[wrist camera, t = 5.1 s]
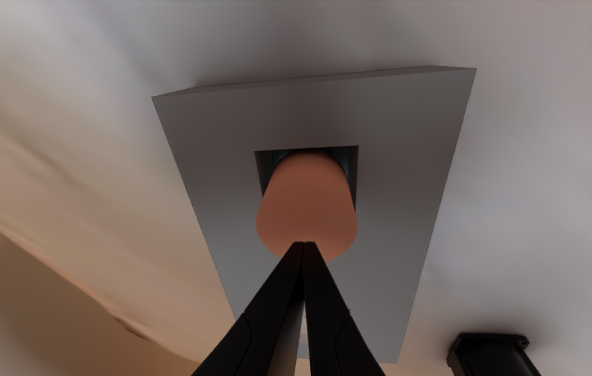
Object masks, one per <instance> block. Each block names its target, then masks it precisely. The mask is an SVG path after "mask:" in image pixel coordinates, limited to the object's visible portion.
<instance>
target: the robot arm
mask: <svg viewBox="0 0 592 376" xmlns="http://www.w3.org/2000/svg"><path fill="white" fill-rule="evenodd" d="M304 303H305V312H306V324H307V336H308V347H309V359H310V370H311V376H386V375H385V374H384V372H383V370H382V369H381V367H380V366H379V364H378V363H377V361H376V359H375V358H374V356H373V354H372V353H371V351H370V349H369V348H368V346H367V344H366V342H365V341H364V339H363V337H362V335H361V333H360V331H359V329H358V327H357V325H356V323H355V321H354V319H353V317H352V316H351V314H350V311H349V309H348V307H347V305H346V303H345V301H344V299H343V297H342V295H341V293H340V291H339V289H338V287H337V285H336V283H335V281H334V279H333V277H332V275H331V273H330V271H329V269H328V267H327V265H326V263H325V261H324V259H323V257H322V255H321V253H320V251H319V248H318V246H317V244H316V243H315V242H314V241H306V242H305V243H304V242H303V241H295V242H293V243H292V245H291V246H290V247H289V249H288V250H287V252H286V253H285V254H284V256H283V257H282V258H281V260H280V261H279V263H278V264H277V265H276V267H275V268H274V270H273V271H272V272H271V274H270V275H269V277H268V278H267V279H266V281H265V282H264V283H263V285H262V286H261V288H260V289H259V290H258V292H257V293H256V295H255V296H254V297H253V299H252V300H251V301H250V303H249V304H248V306H247V307H246V308H245V310H244V312H243V313H242V314H241V315H240V316H239V318H238V319H237V321H236V322H235V323H234V325H233V326H232V327H231V329H230V330H229V331H228V333H227V334H226V335H225V337H224V338H223V339H222V340H221V341H220V342H219V344H218V345H217V346H216V347H215V348H214V350H213V351H212V352H211V353H210V354H209V355H208V357H207V358H206V359H205V360H204V361H203V362H202V363H201V365H200V366H199V367H198V368H197V369H196V370H195V371H194V373H193V374H192V375H191V376H294V373H295V366H296V359H297V352H298V345H299V338H300V331H301V324H302V317H303V310H304ZM529 343H530V342H529V340H528V339H527V338H526V337H524V336H503V335H477V334H462V335H460V336H459V337H458V339H457V341H456V343H455V345H454V347H453V349H452V351H451V353H450V355H449V358H448V360H447V365H448V367H450V368H451V369H452V371H453V374H454V376H541V374H540V373H539V371H538V370H537V369H536V367H535V366H534V364H533V363H532V362H531V360H530V359H529V357H528V356H527V354H526V353H525V352H524V350H525V348H526V347H527V346H528V345H529Z"/></svg>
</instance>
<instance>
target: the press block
mask: <svg viewBox="0 0 592 376" xmlns="http://www.w3.org/2000/svg"><path fill="white" fill-rule="evenodd" d="M476 70H477V68H464V67H448V66H422V67H411V68H400V69H389V70H378V71H367V72H357V73H346V74H335V75H324V76H313V77H302V78H291V79H280V80H269V81H258V82H247V83H236V84H225V85H215V86H204V87H193V88H188V89H184V90H180V91H175V92H171V93H167V94H162V95H158V96H154V97H151V98H152V100H153V103H154V106H155V108H156V111H157V113H158V116H159V119H160V121H161V124H162V127H163V129H164V132H165V135H166V137H167V140H168V143H169V145H170V148H171V151H172V153H173V156H174V159H175V161H176V164H177V166H178V169H179V172H180V174H181V177H182V180H183V182H184V185H185V188H186V190H187V193H188V196H189V198H190V201H191V204H192V206H193V209H194V211H195V214H196V217H197V219H198V222H199V225H200V227H201V230H202V233H203V235H204V238H205V241H206V243H207V246H208V249H209V251H210V254H211V257H212V259H213V262H214V264H215V267H216V270H217V272H218V275H219V278H220V280H221V283H222V286H223V288H224V291H225V294H226V296H227V299H228V302H229V304H230V307H231V309H232V312H233V315H234V317H235V320H236V321H237V319H238V318H239V316H240V315H241V314H242V313H243V312H244V310H245V308H246V307H247V306H248V304H249V303H250V301H251V300H252V299H253V297H254V296H255V295H256V293H257V292H258V290H259V289H260V288H261V286H262V285H263V283H264V282H265V281H266V279H267V278H268V277H269V275H270V274H271V272H272V271H273V270H274V268H275V267H276V265H277V264H278V263H279V261H280V260H281V258H280V257H279V256H277V255H275V254H274V253H272V252H271V251H270V250H269V249H268V248H267V247H266V246H265V245H264V244H263V243H262V241H261V240H260V238H259V236H258V233H257V230H256V216H257V212H258V210H259V207H260V204H261V202H262V199H263V197H264V194H265V192H266V189H267V187H268V184H269V182H270V179H271V177H272V174H273V172H274V169H275V168H274V161H273V155H272V150H280V149H298V148H316V147H335V146H348V180H347V181H348V186H349V190H350V194H351V198H352V202H353V207H354V211H355V215H356V220H357V233H356V237H355V239H354V241H353V243H352V244H351V246H350V247H349V248H348V249H347V250H346V251H345V252H344V253H343V254H342V255H340V256H338V257H337V258H335V259H333V260H330V261H327V262H325V263H326V265H327V267H328V269H329V271H330V273H331V275H332V277H333V279H334V281H335V283H336V285H337V287H338V289H339V291H340V293H341V295H342V297H343V299H344V301H345V303H346V305H347V307H348V309H349V311H350V314H351V316H352V317H353V319H354V321H355V323H356V325H357V327H358V329H359V331H360V333H361V335H362V337H363V339H364V341H365V342H366V344H367V346H368V348H369V349H370V351H371V353H372V354H373V356H374V358H375V359H376V361H377V363H395V364H397V361H398V357H399V353H400V350H401V346H402V342H403V339H404V335H405V331H406V328H407V324H408V320H409V317H410V313H411V309H412V306H413V302H414V298H415V294H416V291H417V287H418V283H419V280H420V276H421V272H422V269H423V265H424V261H425V258H426V254H427V250H428V247H429V243H430V239H431V236H432V232H433V228H434V225H435V221H436V217H437V214H438V210H439V206H440V203H441V199H442V195H443V191H444V188H445V184H446V180H447V177H448V173H449V169H450V166H451V162H452V158H453V155H454V151H455V147H456V144H457V140H458V136H459V133H460V129H461V125H462V122H463V118H464V114H465V111H466V107H467V103H468V100H469V96H470V92H471V88H472V85H473V81H474V77H475V74H476ZM304 307H305V303H304ZM297 358H304V359H309V347H308V346H307V345H304V344H302V343H300V342H299V345H298V352H297Z"/></svg>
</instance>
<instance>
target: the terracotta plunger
mask: <svg viewBox="0 0 592 376" xmlns="http://www.w3.org/2000/svg"><path fill="white" fill-rule="evenodd" d="M256 230H257V233H258V236H259V238H260V240H261V241H262V243H263V244H264V245H265V246H266V247H267V248H268V249H269V250H270V251H271V252H272V253H274V254H275V255H277V256H279V257H280V258H282V257H283V256H284V254H285V253H286V252H287V250H288V249H289V247H290V246H291V245H292V243H293V242H295V241H303V242H304V243H305V242H306V241H314V242H315V243H316V244H317V246H318V248H319V251H320V253H321V255H322V257H323V259H324V261H325V262H327V261H330V260H333V259H335V258H337V257H338V256H340V255H342V254H343V253H344V252H345V251H346V250H347V249H348V248H349V247H350V246H351V244H352V243H353V241H354V239H355V237H356V233H357V220H356V215H355V211H354V207H353V202H352V198H351V194H350V190H349V186H348V181H347V177H346V174H345V171H344V169H343V167H342V165H341V164H340V163H339V161H338V160H337V159H336V158H334V157H333V156H332V155H330V154H328V153H326V152H324V151H321V150H316V149H301V150H297V151H294V152H291V153H290V154H288V155H286V156H285V157H283V158H282V159H281V160H280V161H279V163H278V164H277V165H276V167H275V169H274V172H273V174H272V177H271V179H270V182H269V184H268V187H267V189H266V192H265V194H264V197H263V199H262V202H261V204H260V207H259V210H258V212H257V216H256Z"/></svg>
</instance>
